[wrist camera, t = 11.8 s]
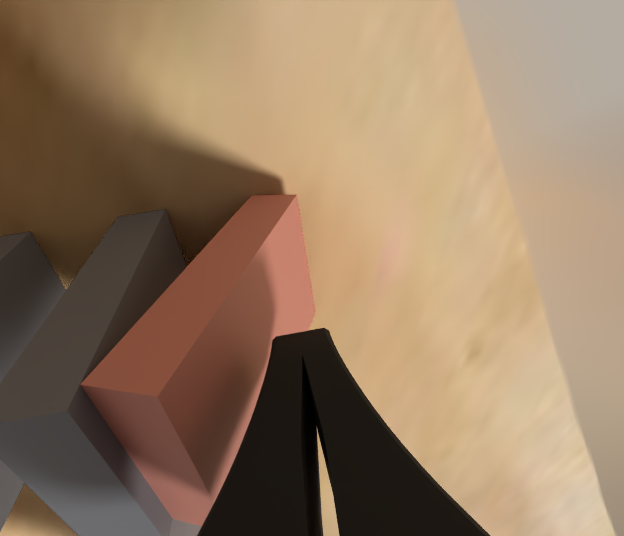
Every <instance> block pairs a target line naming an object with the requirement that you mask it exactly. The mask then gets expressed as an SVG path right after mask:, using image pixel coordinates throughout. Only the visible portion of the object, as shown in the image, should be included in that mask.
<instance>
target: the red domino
mask: <svg viewBox="0 0 624 536" xmlns="http://www.w3.org/2000/svg"><path fill="white" fill-rule="evenodd" d="M314 314H315V306H314V300H313V293H312V287H311V281H310V275H309V268H308V262H307V256H306V250H305V243H304V237H303V231H302V225H301V218H300V212H299V206H298V200H297V195H252V196H251V197H250V198H249V199H248V200H247V201H246V202H245V203H244V204H243V206H242V207H241V208H240V209H239V210H238V211H237V212H236V213H235V214H234V215H233V217H232V218H231V219H230V220H229V221H228V222H227V223H226V224H225V225H224V227H223V228H222V229H221V230H220V231H219V232H218V233H217V234H216V235H215V236H214V238H213V239H212V240H211V241H210V242H209V243H208V244H207V245H206V246H205V247H204V249H203V250H202V251H201V252H200V253H199V254H198V255H197V256H196V257H195V259H194V260H193V261H192V262H191V263H190V264H189V265H188V266H187V267H186V268H185V270H184V271H183V272H182V273H181V274H180V275H179V276H178V277H177V278H176V279H175V281H174V282H173V283H172V284H171V285H170V286H169V287H168V288H167V289H166V291H165V292H164V293H163V294H162V295H161V296H160V297H159V298H158V299H157V300H156V302H155V303H154V304H153V305H152V306H151V307H150V308H149V309H148V310H147V311H146V313H145V314H144V315H143V316H142V317H141V318H140V319H139V320H138V321H137V323H136V324H135V325H134V326H133V327H132V328H131V329H130V330H129V331H128V332H127V334H126V335H125V336H124V337H123V338H122V339H121V340H120V341H119V342H118V343H117V345H116V346H115V347H114V348H113V349H112V350H111V351H110V352H109V353H108V354H107V356H106V357H105V358H104V359H103V360H102V361H101V362H100V363H99V364H98V366H97V367H96V368H95V369H94V370H93V371H92V372H91V373H90V374H89V375H88V377H87V378H86V379H85V380H84V381H83V382H82V383H81V384H80V385H81V386H82V388H83V389H84V391H85V392H86V394H87V395H88V397H89V398H90V399H91V401H92V402H93V404H94V405H95V407H96V408H97V410H98V411H99V413H100V414H101V415H102V417H103V418H104V420H105V421H106V423H107V424H108V426H109V427H110V429H111V430H112V431H113V433H114V434H115V436H116V437H117V439H118V440H119V442H120V443H121V444H122V446H123V447H124V449H125V450H126V452H127V453H128V455H129V456H130V458H131V459H132V460H133V462H134V463H135V465H136V466H137V468H138V469H139V471H140V472H141V474H142V475H143V476H144V478H145V479H146V481H147V482H148V484H149V485H150V487H151V488H152V490H153V491H154V492H155V494H156V495H157V497H158V498H159V500H160V501H161V503H162V504H163V506H164V507H165V508H166V510H167V511H168V513H169V514H170V516H171V517H172V519H175V520H179V521H183V522H187V523H191V524H195V525H199V526H202V525H203V523H204V521H205V519H206V517H207V516H208V514H209V512H210V510H211V508H212V506H213V504H214V502H215V500H216V498H217V496H218V494H219V492H220V490H221V488H222V486H223V484H224V482H225V479H226V477H227V475H228V473H229V471H230V469H231V466H232V464H233V462H234V460H235V457H236V455H237V453H238V450H239V448H240V445H241V443H242V440H243V438H244V435H245V433H246V430H247V427H248V425H249V422H250V420H251V417H252V414H253V412H254V409H255V406H256V403H257V400H258V396H259V393H260V390H261V387H262V384H263V381H264V377H265V373H266V370H267V366H268V362H269V357H270V352H271V347H272V340H273V339H274V338H275V337H276V336H281V335H286V334H292V333H298V332H304V331H308V330H309V328H310V325H311V322H312V320H313V317H314Z"/></svg>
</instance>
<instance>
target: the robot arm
mask: <svg viewBox="0 0 624 536" xmlns="http://www.w3.org/2000/svg"><path fill="white" fill-rule="evenodd" d="M316 425H317V427H316ZM317 429H318V433H319V438H320V442H321V446H322V450H323V454H324V458H325V462H326V467H327V471H328V475H329V479H330V483H331V487H332V491H333V495H334V502H335V508H336V515H337V522H338V528H339V535H340V536H490V535H489V534H488V533H487V532H486V531H485V530H484V529H483V528H482V527H481V526H480V525H479V524H478V523H477V522H476V521H475V520H474V519H473V518H472V517H471V516H470V515H469V514H468V513H467V512H466V511H465V510H464V509H463V508H462V507H461V506H460V505H459V504H458V503H457V502H456V501H455V500H454V499H453V498H452V497H451V496H450V495H449V494H448V493H447V492H446V491H445V490H444V489H443V488H442V487H441V486H440V485H439V484H438V483H437V482H436V481H435V480H434V479H433V478H432V477H431V475H430V474H429V473H428V472H427V471H426V470H425V469H424V468H423V467H422V466H421V465H420V464H419V462H418V461H417V460H416V459H415V458H414V457H413V456H412V454H411V453H410V452H409V451H408V450H407V449H406V448H405V446H404V445H403V444H402V443H401V442H400V440H399V439H398V438H397V437H396V436H395V434H394V433H393V432H392V431H391V429H390V428H389V427H388V426H387V424H386V423H385V422H384V420H383V419H382V418H381V416H380V415H379V414H378V413H377V411H376V410H375V409H374V407H373V406H372V404H371V403H370V402H369V400H368V399H367V397H366V396H365V394H364V393H363V392H362V390H361V389H360V387H359V386H358V384H357V383H356V381H355V380H354V378H353V377H352V375H351V373H350V372H349V370H348V369H347V367H346V365H345V363H344V362H343V360H342V358H341V356H340V355H339V353H338V351H337V349H336V347H335V345H334V343H333V340H332V338H331V335H330V332H329V330H327V329H325V328H321V329H315V330H309V331H304V332H298V333H292V334H286V335H281V336H276V337H275V338H274V339H273V340H272V347H271V352H270V357H269V362H268V366H267V370H266V373H265V377H264V381H263V384H262V387H261V390H260V393H259V396H258V400H257V403H256V406H255V409H254V412H253V414H252V417H251V420H250V422H249V425H248V427H247V430H246V433H245V435H244V438H243V440H242V443H241V445H240V448H239V450H238V453H237V455H236V457H235V460H234V462H233V464H232V466H231V469H230V471H229V473H228V475H227V477H226V479H225V482H224V484H223V486H222V488H221V490H220V492H219V494H218V496H217V498H216V500H215V502H214V504H213V506H212V508H211V510H210V512H209V514H208V516H207V517H206V519H205V521H204V523H203V525H202V526H199V525H195V524H191V523H187V522H183V521H179V520H175V519H172V524H171V530H170V536H323V527H322V515H321V497H320V479H319V461H318V444H317Z"/></svg>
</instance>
